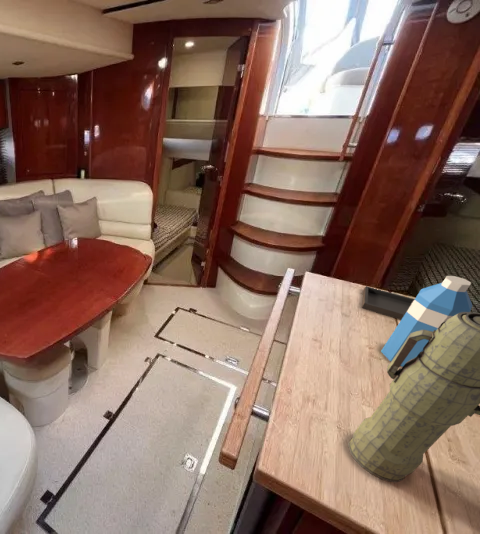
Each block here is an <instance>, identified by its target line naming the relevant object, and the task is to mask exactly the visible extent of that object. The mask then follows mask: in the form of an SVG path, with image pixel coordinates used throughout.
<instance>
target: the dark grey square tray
mask: <svg viewBox="0 0 480 534" xmlns="http://www.w3.org/2000/svg"><path fill="white" fill-rule="evenodd" d="M365 286H366V287H365ZM365 286H364V288H363V290H362V297H361V298H362V300H361V309H363V310H367V311H369V312H373V313H376V314H380V315H384V316H387V317H390V318H393V319H397V320H400V321H401V320H402V318H403V316H404V315H405V313H406V312H407V310H408V309H409V307H410V306H411V304H412V303H413V301H414V300H415V298H413V297H408V296H405V295H401V294H398V293H393V292H389V291H386V290H382V289H379V288H375V287H372V286H367V285H365ZM374 288H375V289H374ZM377 289H378V290H377ZM381 290H382V291H381Z"/></svg>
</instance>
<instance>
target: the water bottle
mask: <svg viewBox="0 0 480 534" xmlns="http://www.w3.org/2000/svg"><path fill="white" fill-rule="evenodd" d="M471 284H472V282H471V281H469V280H468V279H466V278H463V277H459V276H455V275H446V276H445V278H444V280H443V281H442V282H440V283H437V284H433V285H430V286H426V287H424V288H421V289H420V290H419V292H418V294H417V295H416V297H415V298H414V299H415V300H414V301H413V303H412V304H411V306H410V307H409V309H408V310H407V312H406V313H405V315H404V316H403V318H402V320H400V321H399V322H398V324H397V325H396V327H395V329H394V330H393V331H392V333H391V335H390V336H389V338H388V339H387V341H386V342H385V344H384V346H383V347H382V349H381V350H380V353H382V354H383V356H384V357H385V358H386V359H387V360H388V361H389V362H391V361H392V360H393V358H394V357H395V356H396V354H397V353H398V351H399V350H400V348H401V347H402V345H403V344H404V342H405V341H406V340H407V338H408V336H409V335H410V334H411V333H413V332H416V331H420V330H428V331H434V330H437V329H438V328H439V326H440V325H441V324H442V323H443V322H444V321H446V320H448V319H449V318H451V317H453V316H455V315H456V314H458V313H461V312H472V311H471V310H472V308H473V303H472V301H471V298H470V296H469V293H468V291H467V290H468V289H469V287H470V286H471ZM428 341H429V340H426V339H423V340H420V341H418V342H417V343H416V344H415V346H414V347H413V349H412V350H411V351H410V353H409V354H408V356H407V357H406V358H405V360H404V361H403V363H402V364H401V365H400V367H401V368H402V367H403V366H404V365H405V363H406V362H407V361H409V360H411V359H413V358H415V357H417V356H418V354H419V353H420V352H422V351H424V350H423V348H424V346H425V345H426V344H427V342H428Z"/></svg>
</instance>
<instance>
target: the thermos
mask: <svg viewBox="0 0 480 534" xmlns="http://www.w3.org/2000/svg"><path fill="white" fill-rule="evenodd" d="M423 339H426V340H429V341H428V342H427V344H426V345H425V346H424V348H423V350H424V351H422V352H420V353H419V354H418V356H417V357H415V358H413V359H411V360H409V361H407V362H406V363H405V365H404V366H403V367H402V366H400V365H401V364H402V363H403V361H404V360H405V358H406V357H407V356H408V354H409V353H410V351H411V350H412V349H413V347H414V346H415V344H416V343H417V342H418V341H420V340H423ZM386 373H387V375H388V376H389V377H390V379H392V380H391V383H389V391H388V393H387V394H386V395H385V397H384V398H383V400H381V402H380V404H379V405H378V406H377V408H376V409H375V410H374V412H373V413H372V414H371V416H368V417H367V418H364V419H363V420H362V421H361V423H360V424H359V426H357V428H356V429H355V430H354V432H353V434H352V437H350V440H349V441H348V445H347V446H348V451H349V454H350V455H351V456H352V458H353V459H354V461H355V462H356V463H357V464H358V465H359V466H360V467H361V468H362V469H364V470H365V471H367V472H368V473H369V474H371V475H372V476H374V477H376V478H378V479H379V480H383V481H385V482H390V483H399V482H401V481H403V480H404V479H405V478H406V476H409V475H411V474H412V473H414V471H416V469H417V468H418V467H419V466H420V465H421V464H422V463H423V461H424V454H425V453H427V451H428V450H429V449H430V448H431V447H432V446H433V445H434V444H435V443H436V442H437V441H438V440H440V438H441V437H442V436H443V435H444V434H445V433H446V432H447V431H448V430H449V429H450V428H451V427H452V426H456V425H459V424H461V423H462V422H463V421H464V420H465V419H466V418H468V417H470V418H471V417H473V415H478V416H480V312H473V311H470V312H461V313H458V314H456V315H455V316H453V317H451V318H449V319H448V320H446V321H444V322H443V323H442V324H441V325H440V326H439V328H438V329H437V330H434V331H428V330H420V331H416V332H413V333H411V334H410V335H409V336H408V338H407V340H406V341H405V342H404V344H403V345H402V347H401V348H400V350H399V351H398V353H397V354H396V356H395V357H394V358H393V360H392V361H390V362H389V364H388V365H387V367H386Z"/></svg>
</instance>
